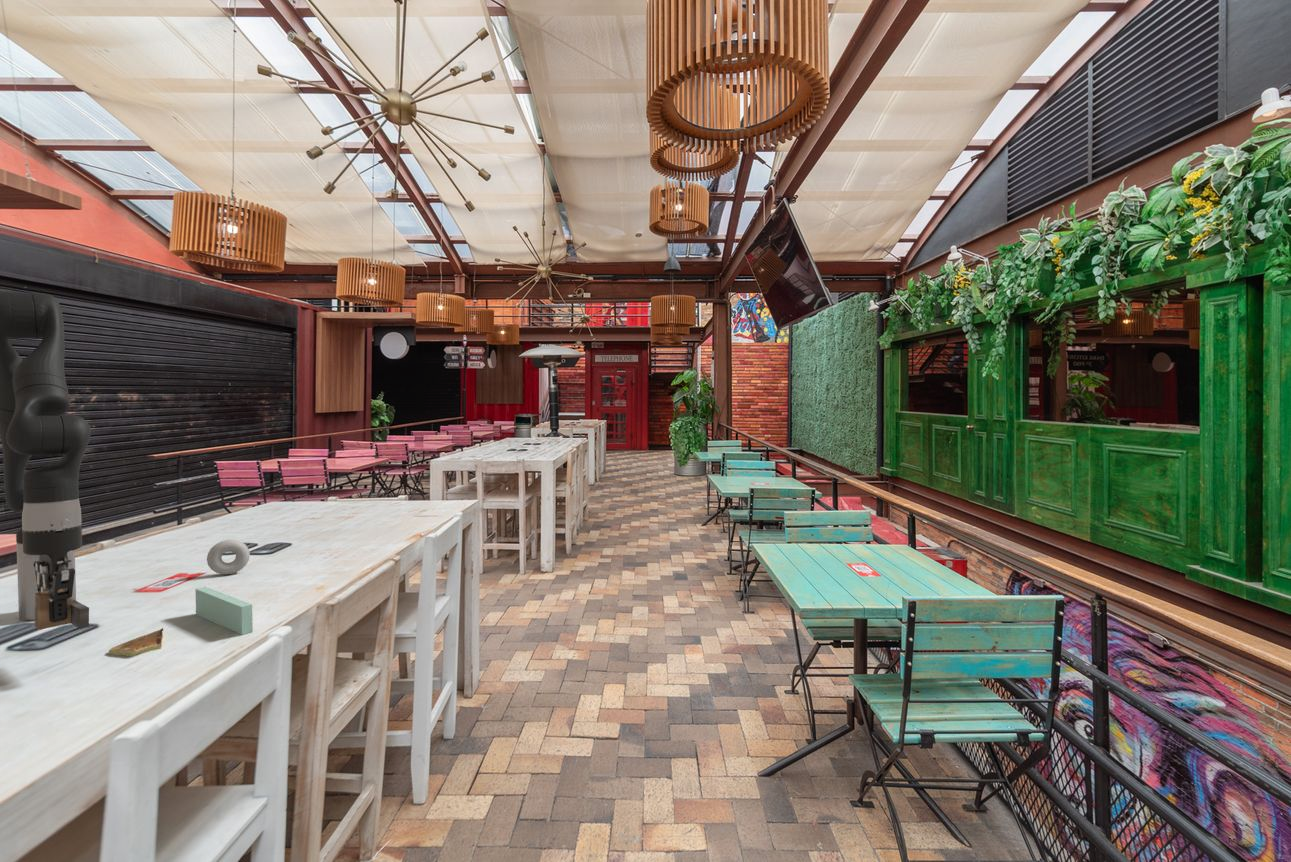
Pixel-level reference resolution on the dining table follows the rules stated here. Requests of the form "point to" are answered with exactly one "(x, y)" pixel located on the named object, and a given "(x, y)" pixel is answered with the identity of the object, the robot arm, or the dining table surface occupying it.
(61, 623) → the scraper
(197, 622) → the dining table surface
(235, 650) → the dining table surface
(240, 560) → the donut
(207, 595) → the stop rail
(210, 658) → the dining table surface
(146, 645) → the shard
